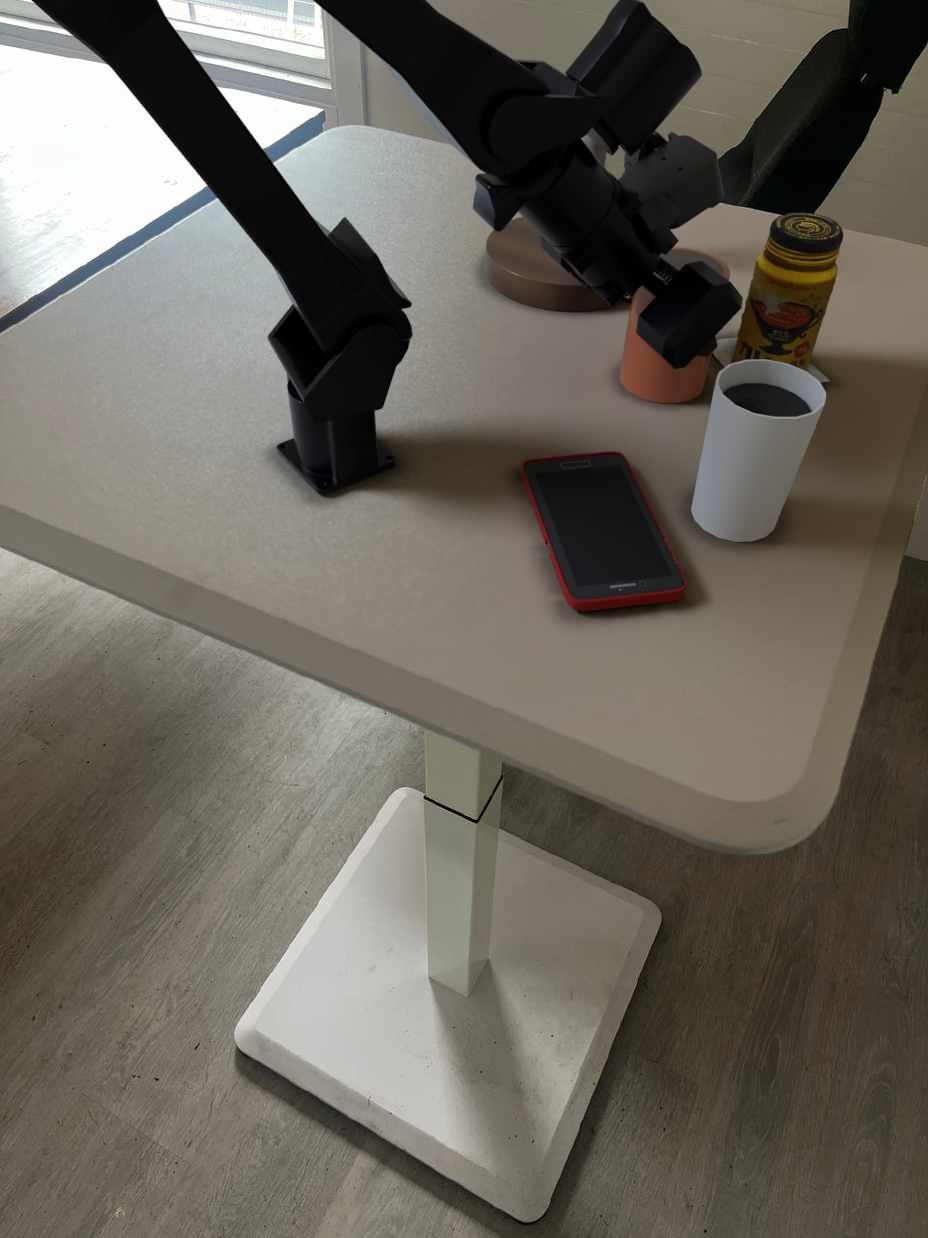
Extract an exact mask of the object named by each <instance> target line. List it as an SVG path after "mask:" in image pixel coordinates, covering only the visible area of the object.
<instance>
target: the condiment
mask: <svg viewBox="0 0 928 1238" xmlns="http://www.w3.org/2000/svg"><path fill="white" fill-rule="evenodd" d="M843 241H844V230H843V229H842V226H841V225H840V224H839V223H838V222H837V221H835V220H834V219H832V218H830V217H828V216H824V215H821V214H817V213H811V212H801V211H800V212H799V211H798V212H789V213H784V214H782V215H779V216H777V217H776V218H775V219H774V220H773V221H772V222H771V224H770V227H769V234H768V237H767V239H766V241H765V244H764V250H763V251H761V253H760V254H759V256H758V257H757V259H756V261H755V264H754V268H753V274H752V278H751V279H750V282H749V283H750V285H749V289H748V294H747V296H746V298H745V302H744V310H743V312H742V314H741V317H740V318H741V319H740V320H741V321H740V326H739V329H738V331H737V334H736V335H737V336H736V337H733V338H731V337H729V338H728V337H727V338H721V339H716V340H717V344H718V346H717V348H716V349H715V350H714V351H713V352H712V353H711V354H713V356H714V357H715V358H716V359H717V360H718V362H720V364H721V365H722V366H723V368H725V367H726V366H728V365H729V364H732V363H736V362H739V361H743V360H766V359H767V360H772V361H777V362H782V363H787V364H790V365H792V366H795V367H797V368H799V369H802V370H804V371H806V372H808V373H809V374H810V375H812V376H813V377H814V378H816V379H817V380H818V381H820V383H821V384H822V383H826V382H831V380H830V379H829V378H828V377H827V376H826V375H825V374H824V373H822V372H821V371H820V370H819V369H818V368H817V367H816V366H815V365H814V364H812V363H811V360H812V356H813V352H814V349H815V347H816V344H817V340H818V337H819V333H820V330H821V327H822V324H823V320H824V317H825V315H826V313H827V308H828V304H829V301H830V299H831V295H832V294H833V291H834V286H835V284H836V279H837V275H838V265H837V262H836V261H837V259H838V257H839V256H840V248H841V246H842V243H843Z"/></svg>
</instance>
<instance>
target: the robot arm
mask: <svg viewBox="0 0 928 1238" xmlns="http://www.w3.org/2000/svg"><path fill="white" fill-rule="evenodd" d="M30 1H31V2H32V3H34V5H36V6H37V7H38V8H39V9H40V10H41V11H42V12H44V13H45V14H46V16H48V17H49V18H50V19H51V20H52V21H53V22H55V23H56V25H57V24H58V25H59V26H60V27H61V28H62V29H63V30H65V31H66V32H68V34H70V35H71V36H72V37H74V38H75V39H76V40H77V41H78V42H80V43H82V44H83V45H84V46H85V47H86V48H87V49H88V50H89V51H91V52H92V53H93V54H95V55H96V56H97V57H98V58H99V59H101V60H102V61H103V62H104V63H105V64H106V65H108V66H109V67H110V69H111V70H112V71H113V72H114V73H115V75H116V76H117V77H118V78H119V80H120V81H121V82H122V83H123V84H124V86H125V87H126V88H127V89H128V90H129V92H130V93H131V94H132V96H134V98H135V99H136V100H137V102H138V103H139V104H140V105H141V106H142V108H143V109H144V110H145V111H146V113H147V114H148V115H149V116H150V118H152V120H153V121H154V122H155V124H156V125H157V126H158V127H159V129H160V130H161V131H162V132H163V133H164V135H165V136H166V137H167V138H168V140H169V141H170V142H171V144H173V145H174V146H175V148H176V149H177V151H178V152H179V153H180V154H181V155H182V157H183V158H184V159H185V160H186V161H187V163H188V164H189V165H190V166H191V168H192V169H193V170H194V171H195V172H196V174H197V175H198V176H199V177H200V178H201V180H202V181H203V183H204V184H205V185H207V188H209V190H210V191H211V192H212V193H213V195H214V196H215V197H216V198H217V200H218V201H219V202H220V203H221V204H222V205H223V207H224V208H225V210H226V211H227V212H228V213H229V214H230V216H231V217H232V218H233V219H234V220H235V221H236V223H237V224H238V225H239V227H241V229H242V230H243V231H244V232H245V234H246V235H247V236H248V238H249V239H251V240H250V241H252V242H253V244H254V245H255V246H256V247H257V249H258V250H259V251H260V252H261V253H262V254H263V256H264V257H265V258H266V259H267V261H268V262H269V263H270V264H271V266H272V268H273V270H274V272H275V274H276V276H277V278H278V280H279V282H280V283H281V285H282V287H283V289H284V290H285V293H286V294H287V296H288V298H289V300H290V302H291V303H292V304H291V305H290V306H289V308H288V309H287V310H286V312H285V313H284V314H283V315H282V317H281V318H280V319H279V320H278V322H277V323H276V324H275V326H273V328H272V329H271V331H270V332H269V333H268V335H267V341H268V343H269V345H270V346H271V348H272V350H273V352H274V354H275V355H276V357H277V359H278V360H279V362H280V364H281V365H282V367H283V369H284V371H285V372H286V380H287V384H286V389H287V396H288V403H289V411H290V412H289V413H290V418H291V426H292V433H293V438H290V439H288V440H284V441H283V442H280V443H278V444H277V445H276V451H277V454H278V455H279V456H280V457H281V458H282V459H283V460H284V461H285V462H286V463H287V464H288V465H289V466H290V468H292V469H293V470H294V471H295V472H296V473H297V475H299V477H301V479H303V480H304V481H305V482H306V483H307V484H308V485H309V486H310V487H311V489H312V490H314V491H315V492H316V493H317V494H318V495H327V494H329V493H332V492H334V491H336V490H339V489H341V488H344V487H346V486H349V485H351V484H353V483H356V482H358V481H361V480H362V479H365V478H367V477H370V476H372V475H375V474H378V473H380V472H382V471H384V470H387V469H389V468H392V467H394V466H395V465H396V464H397V456H396V455H395V454H394V452H392V451H391V450H390V449H388V447H386V446H385V445H384V444H383V443H382V442H380V440H378V438H377V421H376V411H380V410H382V409H383V408H384V406H385V403H386V400H387V396H388V393H389V390H390V388H391V385H392V383H393V382H392V381H393V378H394V375H395V372H396V369H397V366H398V365H399V364H400V363H402V361H403V359H404V357H405V356H406V354H407V352H408V351H409V347H410V342H411V339H412V338H413V336H414V333H413V326H412V324H411V322H410V319H409V317H408V315H407V313H406V312H405V311H404V310H405V309H410V308H411V307H412V305H413V303H412V301H411V300H410V299H409V298H408V297H407V295H406V294H405V293H404V292H403V290H402V289H401V288H400V286H399V285H398V284H397V283H396V281H395V280H394V279H393V278H392V277H391V275H389V273H388V272H387V271H386V268H385V267H384V265H383V263H382V262H381V259H380V257H379V255H378V254H377V253H376V252H375V250H374V249H373V248H372V247H371V246H370V245H369V243H368V242H367V241H366V240H365V238H364V237H363V236H362V235H361V234H360V232H359V231H358V230H357V228H356V227H354V225H353V224H352V223H351V222H350V220H349V219H348V218H347V217H346V216H344V217H342V219H341V220H340V221H339V222H338V223H337V225H335V227H334V228H333V229H332V230H331V231H330V230H329V229H328V228H327V227H326V226H324V225H323V224H321V223H320V221H318V220H317V219H316V218H315V217H314V216H313V215H312V214H311V213H310V212H309V210H308V208H307V207H306V206H305V205H304V203H303V202H302V201H301V199H300V198H299V196H297V194H296V192H295V191H294V190H293V188H292V187H291V186H290V184H289V183H288V182H287V180H286V179H285V177H284V176H283V174H282V173H281V172H280V170H278V168H277V166H276V165H275V164H274V162H273V161H272V160H271V158H270V157H269V155H268V154H267V153H266V151H265V150H264V149H263V147H262V146H261V145H260V143H259V142H258V141H257V139H256V138H255V137H254V135H253V134H252V133H251V131H250V130H249V128H248V127H247V125H246V124H245V123H244V121H243V120H242V118H241V117H240V116H239V114H238V113H237V112H236V110H235V109H234V108H233V107H232V105H231V104H230V102H229V101H228V100H227V98H226V97H225V96H224V95H223V93H222V92H221V90H220V88H218V86H217V85H216V84H215V83H216V82H214V81H213V79H212V77H211V76H210V75H209V73H208V72H207V71H206V70H205V68H204V67H203V65H202V64H201V62H199V60H198V59H197V57H196V56H195V54H194V53H193V52H192V51H191V49H190V48H189V46H188V45H187V44H186V42H185V41H184V39H183V38H182V36H181V35H180V34H179V33H178V31H177V30H176V29H175V27H174V26H173V25H172V23H171V22H170V20H169V19H168V18H167V16H166V14H165V12H164V10H163V8H162V6H161V4H160V2H159V0H30ZM312 1H313V2H314V3H315V4H316V5H317V6H318V7H320V8H321V9H322V10H323V11H324V12H325V13H326V14H327V15H328V16H330V17H331V18H332V19H334V20H335V21H336V22H337V23H338V24H340V25H341V26H342V27H343V28H344V29H345V30H346V31H348V32H349V33H350V34H351V35H352V36H354V37H355V38H356V39H357V40H358V41H359V42H360V43H362V44H363V46H365V47H367V48H368V49H369V50H370V51H371V52H372V53H373V54H374V55H376V56H377V57H378V58H379V59H380V61H381V62H382V63H383V64H384V66H385V67H386V68H387V69H388V71H389V72H390V73H391V75H392V76H393V77H394V79H395V80H396V81H397V83H398V84H399V86H400V87H401V89H402V90H403V92H404V93H405V94H406V96H407V97H408V98H409V99H410V100H411V102H412V103H413V104H414V105H415V107H416V108H417V110H419V112H420V113H421V114H422V115H423V117H424V118H425V119H426V120H427V122H428V123H429V124H430V126H431V127H432V128H433V129H434V130H435V131H436V133H438V135H440V136H441V137H442V138H443V139H444V140H446V141H447V143H449V144H450V145H451V146H452V147H453V148H455V150H456V151H458V152H459V153H460V154H461V155H463V156H464V158H466V159H467V160H468V161H469V162H470V163H472V164H473V165H474V166H475V168H478V170H479V171H481V172H483V173H477V174H476V175H475V177H474V181H475V187H476V188H475V191H474V194H473V201H472V209H473V211H474V212H475V213H476V214H477V215H478V216H479V217H480V218H481V219H482V220H483V221H484V222H485V223H486V224H487V225H489V227H490V228H492V229H493V230H495V231H497V232H500V231H502V230H503V229H504V228H505V227H506V226H507V224H508V223H509V222H510V221H511V220H513V219H514V217H515V216H516V215H517V214H519V215H520V217H523V218H524V219H525V220H526V221H527V222H528V223H529V224H530V225H531V226H532V227H533V228H534V229H535V230H536V231H537V232H538V233H539V234H540V235H541V247H542V248H543V249H544V250H545V251H546V252H547V253H548V254H549V255H550V256H551V257H552V258H553V259H554V260H555V261H556V262H557V263H558V264H559V265H560V266H561V267H562V268H563V269H565V270H566V271H567V272H568V273H570V272H571V275H572V276H574V277H575V278H576V279H577V280H578V281H579V282H580V283H581V284H582V285H583V286H585V287H586V288H587V289H590V290H593V291H595V292H597V293H598V294H599V295H600V296H601V297H602V298H603V299H605V300H606V301H607V302H608V303H609V304H610V305H611V307H612V308H614V307H615V306H617V305H616V303H617V302H618V301H619V300H620V301H623V302H622V303H625V304H629V305H631V301H632V296H633V295H634V294H635V293H636V291H637V289H639V288H640V287H641V286H642V287H643V288H644V289H645V290H646V291H647V292H649V293H650V294H651V295H652V296H653V297H655V298H654V299H653V300H652V301H651V302H650V303H649V305H648V306H647V307H646V308H645V309H644V310H643V311H642V312H641V313H640V314H639V316H638V322H637V328H636V333H637V334H638V335H639V336H640V337H641V339H642V340H643V341H644V342H646V343H647V344H648V345H649V346H650V347H651V348H652V349H653V350H654V351H655V352H656V353H657V354H658V355H659V356H660V357H662V358H663V359H664V360H665V361H666V362H667V363H668V364H669V365H670V366H671V367H673V368H674V369H680V368H685V367H686V366H687V365H688V364H689V363H690V362H691V361H692V360H693V359H694V358H695V357H696V356H705V357H708V356H709V355H710V354H711V355H712V354H713V353H712V352H713V351H714V350H715V349H716V348H717V346H718V344H717V340H718V339H717V335H718V334H719V333H720V332H721V331H722V329H724V327H725V326H726V325H728V324H729V322H730V321H731V320H732V319H733V318H734V317H735V316H736V315H737V314H738V313H739V312H740V311H741V309H743V300H744V297H743V296H742V294H741V293H740V292H739V290H738V289H737V288H736V287H735V285H734V284H733V283H732V282H731V281H730V279H729V280H727V279H726V278H725V277H723V276H722V275H721V274H719V273H718V272H717V271H715V270H714V269H713V268H711V267H710V266H709V265H707V264H706V263H705V262H703V261H697V262H692V263H687V264H685V265H684V266H683V267H682V268H681V269H680V271H678V270H677V269H676V268H675V267H673V266H672V265H671V264H669V263H668V262H667V261H666V260H664V259H663V258H662V257H660V256H659V255H660V254H661V253H663V254H664V255H666V254H668V252H669V251H670V250H671V249H672V248H673V247H675V245H677V244H678V243H679V242H680V240H679V238H677V236H676V235H675V234H674V232H673V230H677V229H678V228H681V227H682V226H683V225H685V224H687V223H688V222H690V221H691V220H693V219H694V218H696V217H697V216H699V215H700V214H702V213H703V212H705V211H707V210H708V209H714V208H715V207H716V206H718V205H719V204H720V203H722V201H723V199H724V198H725V193H724V187H723V181H722V177H721V176H722V175H721V170H720V169H721V168H720V165H719V159H718V154H717V152H716V151H714V150H713V149H711V148H710V147H709V146H706V145H705V144H703V143H702V142H700V141H698V140H697V139H695V138H693V137H692V136H690V135H686V134H682V135H678V134H677V133H675V132H673V131H670V133H668V134H667V139H668V140H666V139H665V138H664V137H663V135H661V134H660V133H659V132H658V131H657V129H658V128H659V127H660V126H661V125H662V124H663V122H665V120H666V119H667V117H668V116H669V115H670V114H671V113H672V112H673V111H674V109H675V108H676V107H677V106H678V105H679V103H680V102H682V100H683V99H684V98H685V96H686V95H687V94H688V93H689V92H690V90H692V88H693V87H694V85H696V83H697V82H698V81H700V79H701V77H702V76H703V70H702V68H701V65H700V63H699V61H698V60H697V59H698V58H697V57H696V55H695V54H694V53H693V51H692V50H691V49H690V47H689V46H688V45H686V44H684V43H682V42H680V40H679V39H678V38H677V37H676V36H675V35H674V34H673V33H672V31H670V30H669V29H668V28H667V27H666V26H665V24H663V23H662V22H661V21H660V20H659V19H658V18H656V17H655V16H654V15H653V14H652V13H651V11H650V10H649V8H648V7H647V5H646V4H645V2H644V1H641V0H618V1H617V2H616V4H615V5H614V6H613V7H612V9H611V10H610V12H609V13H608V15H607V16H606V18H605V20H604V22H603V24H602V25H601V27H600V28H599V30H597V32H596V33H595V34H594V35H593V37H592V38H591V39H590V41H589V42H588V43H587V45H586V46H584V48H583V49H582V51H581V52H580V53H579V54H578V56H577V57H576V58H575V59H574V60H573V62H572V63H571V64H570V66H569V67H568V68H567V69H566V70H565V73H564V72H562V71H560V70H559V69H557V68H556V67H554V66H553V65H551V64H549V63H547V62H546V61H545V60H534V59H533V60H532V59H519V58H518V59H516V58H512V57H511V56H510V55H508V54H506V53H505V52H503V51H501V50H500V49H499V48H497V47H496V46H494V45H492V43H489V42H488V41H486V40H485V39H483V38H482V37H480V36H478V35H476V33H474V32H472V31H471V30H469V29H467V28H465V27H464V26H462V25H461V24H459V23H457V22H456V21H455V20H453V19H451V18H450V17H448V16H447V15H445V14H443V13H441V12H440V11H438V10H437V9H436V8H435V7H433V5H432V4H430V3H429V2H428V0H312ZM586 135H588V136H589V137H590V138H591V139H592V140H593V141H594V142H595V143H596V144H597V145H598V146H599V147H601V148H602V149H603V150H604V151H605V152H606V154H608V155H610V156H614V155H615V154H616V152H617V151H619V148H621V149H622V150H623V151H624V156H623V157H624V158H623V161H624V164H623V167H624V171H623V172H622V174H621V176H620V177H619V178H618V179H617V178H616V176H615V175H614V174H613V173H611V172H610V171H608V170H607V168H606V166H605V167H604V166H603V165H602V164H601V162H600V161H599V160H598V159H597V157H596V156H595V155H594V154H593V153H592V151H591V150H590V149H589V148H588V146H587V145H586V144H585V143H584V142H583V140H582V139H581V138H583V137H584V136H586ZM654 272H655V273H656V274H658V275H659V276H660V277H662V279H664V280H665V281H666V282H668V284H667V285H666V284H665V283H664V282H663V281H661V280H660V279H659V278H658V277H657V276H655V275H654V274H653V273H654Z"/></svg>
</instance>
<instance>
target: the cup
mask: <svg viewBox="0 0 928 1238" xmlns="http://www.w3.org/2000/svg"><path fill="white" fill-rule="evenodd" d="M659 256H660V257H662V258H663V259H664V260H666V261H667V262H668V263H669V264H671V265H672V266H673V267H675V268H676V269H677V270H678V271H680V269H681V268H682V267H683V266H684V265H685V264H687V263H692V262H697V261H703V262H705V263H706V264H707V265H709V266H710V267H711V268H713V269H714V270H715V271H717V272H718V273H719V274H721V275H722V276H723V277H725V278H726V279H727V280H729V281H730V277H731V270H730V267H729V265H728V264H727V263H726V262H725V261H724V260H722V259H721V258H719V257H718V256H716V255H714V254H711V253H709V252H707V251H703V250H699V249H695V248H689V247H680V246H679V247H677V246H676V247H675V246H674V247H673V248H672V249H671V250H670V251H669V252H668V254H666V255H664V254H663V253H661V254H660V255H659ZM653 274H654V275H655V276H657V277H658V278H659V279H660V280H661V281H663V282H664V283H665V284H666V285H667V284H668V282H666V281H665V280H664V279H662V277H660V276H659V275H658V274H656V273H655V272H654V273H653ZM654 298H655V297H653V296H652V295H651V294H650V293H649V292H647V291H646V290H645V289H644V288H643V287H642V286H641V287H640V288H639V289H637V291H636V293H635V294H634V295H633V296H632V301H631V304H630V307H629V313H628V320H627V326H626V333H625V339H624V345H623V351H622V358H621V363H620V370H619V381H620V383H621V385H622V387H623V388H624V389H625V390H626V391H628V392H629V393H630V394H632V395H634V396H635V397H637V398H639V399H641V400H644V401H648V402H652V403H657V404H679V403H680V404H681V403H685V402H688V401H691V400H693V399H695V398H697V397H698V396H699V395H700V394H701V393H702V392H703V390H704V387H705V382H706V378H707V374H708V370H709V366H710V363H711V362H710V360H711V357H712V353H711V354H710V355H709V356H708V357H705V356H696V357H695V358H694V359H693V360H692V361H691V362H690V363H689V364H688V365H687V366H686V367H685V368H680V369H674V368H673V367H671V366H670V365H669V364H668V363H667V362H666V361H665V360H664V359H663V358H662V357H660V356H659V355H658V354H657V353H656V352H655V351H654V350H653V349H652V348H651V347H650V346H649V345H648V344H647V343H646V342H644V341H643V340H642V339H641V337H640V336H639V335H638V334H637V333H636V328H637V322H638V316H639V314H640V313H641V312H642V311H643V310H644V309H645V308H646V307H647V306H648V305H649V303H650V302H651V301H652V300H653V299H654Z"/></svg>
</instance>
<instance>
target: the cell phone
mask: <svg viewBox="0 0 928 1238" xmlns="http://www.w3.org/2000/svg"><path fill="white" fill-rule="evenodd" d="M520 475H521V480H522V482H523V485H524V488H525V491H526V495H527V498H528V500H529V502H530V505H531V507H532V510H533V513H534V517H535V519H536V522H537V525H538V528H539V530H540V533H541V536H542V539H543V541H544V544H545V545H546V546H547V547H548V550H549V552H548V555H549V559H550V561H551V564H552V566H553V570H554V572H555V575H556V578H557V580H558V583H559V586H560V589H561V592H562V594H563V595H562V596H563V597H564V599H565V601H566V603H567V604H568V606H569V607H570V608H571V609H572V610H574V611H577V612H589V611H599V610H608V609H616V608H625V607H631V606H632V607H633V606H641V605H650V604H659V603H667V602H673V601H677V600H681V599H682V598H684V597H685V596H686V592H687V589H688V584H687V580H686V576H685V575H684V572H683V570H682V567H681V565H680V563H679V561H678V559H677V557H676V555H675V553H674V551H673V549H672V547H671V545H670V543H669V541H668V539H667V537H666V535H665V533H664V531H663V529H662V527H661V525H660V523H659V521H658V519H657V516H656V514H655V513H654V510H653V507H651V505H650V502H649V501H648V498H647V496H646V494H645V492H644V490H643V488H642V486H641V484H640V482H639V480H638V478H637V475H636V474H635V472H634V470H633V468H632V466H631V464H630V461H629V460H628V459H627V458H626V455H624V453H622V452H620V451H615V450H613V451H611V450H609V451H608V450H607V451H597V452H587V453H586V452H585V453H576V454H575V453H574V454H565V455H563V454H562V455H554V456H544V457H533V458H528V459H526V460H524V461H522V463H521V465H520Z"/></svg>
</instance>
